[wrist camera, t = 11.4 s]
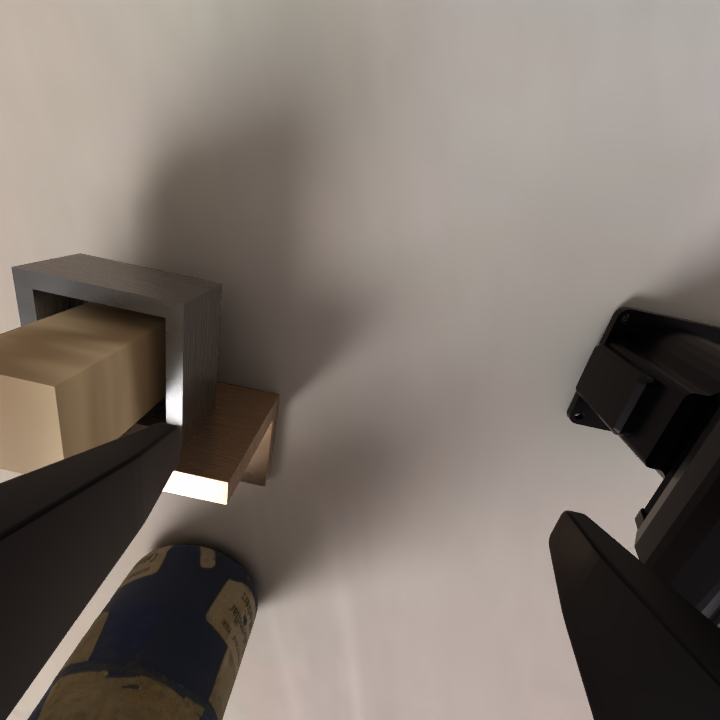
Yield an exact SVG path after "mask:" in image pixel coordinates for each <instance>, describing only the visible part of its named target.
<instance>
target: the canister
mask: <svg viewBox="0 0 720 720" xmlns="http://www.w3.org/2000/svg"><path fill="white" fill-rule="evenodd" d="M257 605H258V597H257V592H256V589H255V586H254V583H253V581H252V579H251V578H250V576H249V575H248V574H247V572H246V571H245V570H244V569H243V568H242V567H241V566H240V565H238V564H237V563H236V562H235V561H233V560H232V559H230V558H229V557H227V556H225V555H223V554H221V553H220V552H217V551H215V550H212V549H210V548H206V547H202V546H197V545H188V544H175V545H169V546H165V547H162V548H159V549H156V550H154V551H152V552H150V553H149V554H147V555H146V556H144V557H143V558H142V559H141V560H140V561H139V562H138V563H137V564H136V565H135V566H134V568H133V569H132V570H131V571H130V573H129V574H128V576H127V577H126V578H125V580H124V581H123V582H122V584H121V585H120V587H119V588H118V589H117V591H116V592H115V594H114V595H113V597H112V598H111V600H110V601H109V603H108V604H107V605H106V607H105V608H104V609H103V611H102V612H101V614H100V615H99V616H98V617H97V619H96V620H95V621H94V623H93V624H92V626H91V627H90V629H89V630H88V632H87V633H86V634H85V636H84V637H83V638H82V640H81V641H80V643H79V644H78V646H77V647H76V649H75V650H74V651H73V653H72V654H71V656H70V657H69V659H68V660H67V662H66V663H65V665H64V666H63V668H62V669H61V671H60V672H59V673H58V675H57V676H56V678H55V679H54V681H53V682H52V684H51V686H50V687H49V689H48V690H47V692H46V693H45V695H44V696H43V698H42V699H41V701H40V702H39V704H38V705H37V706H36V708H35V709H34V711H33V712H32V714H31V715H30V717H29V718H28V720H222V719H223V716H224V712H225V709H226V706H227V703H228V700H229V697H230V694H231V691H232V688H233V685H234V682H235V679H236V676H237V673H238V670H239V667H240V664H241V660H242V657H243V654H244V651H245V648H246V645H247V642H248V639H249V636H250V633H251V630H252V627H253V624H254V620H255V617H256V613H257Z"/></svg>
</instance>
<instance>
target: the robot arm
mask: <svg viewBox="0 0 720 720" xmlns="http://www.w3.org/2000/svg"><path fill="white" fill-rule="evenodd" d="M627 314H629V318H628V319H627V320H626V321H624V322H622V318H623V317H624V316H625V315H627ZM576 390H577V391H576V393H575V395H574V398H573V400H572V402H571V404H570V406H569V408H568V410H567V416H568V417H569V419H570V420H571V421H572V422H573V423H576V424H580V425H585V426H589V427H594V428H599V429H603V430H608V431H612V432H613V433H614V434H616V435H619V437H620V438H621V439H622V440H623V441H624V442H625V443H626V444H627V445H628V447H629V448H630V449H631V450H632V451H633V452H634V453H635V454H636V455H637V457H638V458H639V459H640V460H641V461H642V462H643V463H644V464H645V465H646V466H647V467H649V468H652V469H655V470H656V471H657V472H658V473H659V474H660V475H661V477H662V478H663V479H664V480H663V481H662V483H661V484H660V486H659V487H658V489H657V491H656V492H655V494H654V495H653V497H652V498H651V500H650V501H649V503H648V504H647V506H646V507H645V509H643V508H642V509H641V510H640V511H639V513H638V514H637V516H636V517H635V522H636V525H637V529H638V531H637V533H636V539H635V546H634V547H635V549H636V552H637V555H638V558H639V560H638V559H637V558H636V557H635V556H634V555H632V554H631V553H630V552H629V551H628V550H627V549H625V548H624V547H623V546H622V545H621V544H619V543H618V542H617V541H616V540H615V539H613V538H612V537H611V536H610V535H609V534H608V533H606V532H605V531H604V530H603V529H602V528H600V527H599V526H598V525H597V524H596V523H595V522H593V521H592V520H591V519H590V518H589V517H587V516H586V515H585V514H582V513H578V512H573V511H564V512H563V513H562V514H561V516H560V518H559V520H558V522H557V523H556V525H555V527H554V529H553V531H552V533H551V535H550V538H549V548H550V553H551V559H552V564H553V569H554V574H555V579H556V584H557V589H558V594H559V599H560V604H561V609H562V613H563V617H564V621H565V624H566V628H567V631H568V634H569V638H570V641H571V645H572V648H573V651H574V655H575V658H576V661H577V665H578V668H579V671H580V675H581V678H582V681H583V685H584V688H585V691H586V695H587V698H588V701H589V705H590V708H591V711H592V715H593V718H594V720H720V327H718V326H713V325H709V324H704V323H699V322H695V321H690V320H686V319H681V318H676V317H672V316H667V315H662V314H658V313H653V312H648V311H644V310H639V309H634V308H630V307H622V308H619V309H618V310H617V311H616V312H615V313H614V314H613V316H612V318H611V320H610V322H609V325H608V327H607V329H606V331H605V333H604V335H603V337H602V339H601V341H600V343H599V345H598V346H596V347H595V348H594V350H593V353H592V355H591V357H590V359H589V361H588V363H587V365H586V367H585V369H584V371H583V374H582V376H581V378H580V380H579V382H578V384H577V386H576ZM577 412H581V414H580V415H578V416H575V414H576V413H577ZM179 458H180V428H179V427H178V426H177V425H173V424H168V423H163V422H161V423H157V424H155V425H152V426H149V427H147V428H144V429H141V430H139V431H136V432H134V433H131V434H128V435H126V436H123V437H120V438H118V439H115V440H113V441H110V442H107V443H105V444H102V445H100V446H97V447H94V448H92V449H89V450H86V451H84V452H81V453H79V454H76V455H73V456H71V457H68V458H65V459H63V460H60V461H58V462H55V463H52V464H50V465H47V466H44V467H42V468H39V469H37V470H34V471H31V472H29V473H26V474H23V475H21V476H18V477H16V478H13V479H10V480H8V481H5V482H2V483H0V720H6V719H7V717H8V716H9V715H10V713H11V712H12V710H13V709H14V707H15V706H16V705H17V703H18V702H19V700H20V699H21V698H22V696H23V695H24V693H25V692H26V690H27V689H28V688H29V686H30V685H31V683H32V682H33V681H34V679H35V678H36V676H37V675H38V673H39V672H40V671H41V669H42V668H43V666H44V665H45V664H46V662H47V661H48V659H49V658H50V656H51V655H52V654H53V652H54V651H55V649H56V648H57V647H58V645H59V644H60V642H61V641H62V639H63V638H64V637H65V635H66V634H67V632H68V631H69V630H70V628H71V627H72V625H73V624H74V622H75V621H76V620H77V618H78V617H79V615H80V614H81V613H82V611H83V610H84V608H85V607H86V605H87V604H88V603H89V601H90V600H91V598H92V597H93V596H94V594H95V593H96V591H97V590H98V588H99V587H100V586H101V584H102V583H103V581H104V580H105V579H106V577H107V576H108V574H109V573H110V571H111V570H112V569H113V567H114V566H115V564H116V563H117V562H118V560H119V559H120V557H121V556H122V554H123V553H124V552H125V550H126V549H127V547H128V546H129V545H130V543H131V542H132V540H133V539H134V537H135V536H136V535H137V533H138V532H139V530H140V529H141V527H142V526H143V524H144V523H145V521H146V519H147V518H148V516H149V514H150V512H151V511H152V509H153V507H154V505H155V504H156V502H157V500H158V498H159V496H160V495H161V493H162V491H163V489H164V487H165V486H166V484H167V482H168V480H169V478H170V477H171V475H172V473H173V471H174V469H175V468H176V466H177V464H178V461H179Z"/></svg>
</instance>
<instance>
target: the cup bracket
mask: <svg viewBox="0 0 720 720" xmlns="http://www.w3.org/2000/svg"><path fill="white" fill-rule="evenodd" d="M12 273H13V279H14V285H15V291H16V297H17V303H18V309H19V315H20V322H21V327H22V326H24V325H27V324H30V323H33V322H35V321H38V320H41V319H44V318H47V317H49V316H52V315H55V314H58V313H60V312H63V311H66V310H69V309H71V308H74V307H77V306H80V305H83V304H85V303H88V302H94V303H99V304H104V305H108V306H113V307H118V308H122V309H127V310H131V311H136V312H141V313H145V314H150V315H154V316H159V317H164V318H166V396H165V397H164V398H163V399H162V400H161V401H160V402H159V403H157V404H156V405H155V406H154V407H153V408H152V409H151V410H150V411H148V412H147V413H146V414H145V415H144V416H143V417H142V418H141V419H139V420H138V421H137V422H136V423H135V424H134V425H133V426H132V427H130V428H129V429H128V430H127V431H126V432H125V433H124V434H122V435H121V436H120V437H123V436H126V435H128V434H131V433H134V432H136V431H139V430H141V429H144V428H147V427H149V426H152V425H155V424H157V423H161V422H163V423H168V424H173V425H177V426H178V427H179V428H180V458H179V461H178V464H177V466H176V468H175V469H174V471H173V473H172V475H171V477H170V478H169V480H168V482H167V484H166V486H165V487H164V489H163V491H165V492H170V493H175V494H179V495H184V496H188V497H193V498H198V499H202V500H207V501H211V502H216V503H220V504H225V505H227V503H228V501H229V499H230V498H231V496H232V494H233V492H234V490H235V488H236V487H237V485H238V483H239V481H242V482H247V483H252V484H256V485H261V486H265V485H266V482H267V480H268V478H269V471H270V463H271V455H272V447H273V439H274V432H275V424H276V416H277V408H278V400H279V395H277V394H272V393H267V392H263V391H258V390H253V389H249V388H244V387H240V386H235V385H230V384H226V383H221V382H217V368H218V349H219V330H220V311H221V292H222V284H220V283H215V282H211V281H206V280H201V279H197V278H192V277H187V276H183V275H178V274H173V273H169V272H164V271H160V270H155V269H150V268H146V267H141V266H136V265H132V264H127V263H123V262H118V261H113V260H109V259H104V258H99V257H95V256H90V255H86V254H81V253H80V254H75V255H70V256H65V257H60V258H55V259H50V260H45V261H39V262H34V263H29V264H24V265H19V266H14V267H12ZM120 437H119V438H120Z"/></svg>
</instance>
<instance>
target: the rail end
mask: <svg viewBox="0 0 720 720" xmlns="http://www.w3.org/2000/svg"><path fill="white" fill-rule="evenodd" d="M165 396H166V318H164V317H159V316H154V315H150V314H145V313H141V312H136V311H131V310H127V309H122V308H118V307H113V306H108V305H104V304H99V303H94V302H88V303H85V304H83V305H80V306H77V307H74V308H71V309H69V310H66V311H63V312H60V313H58V314H55V315H52V316H49V317H47V318H44V319H41V320H38V321H35V322H33V323H30V324H27V325H24V326H22V327H19V328H16V329H13V330H11V331H8V332H5V333H2V334H0V469H4V470H9V471H13V472H18V473H22V474H26V473H29V472H31V471H34V470H37V469H39V468H42V467H44V466H47V465H50V464H52V463H55V462H58V461H60V460H63V459H65V458H68V457H71V456H73V455H76V454H79V453H81V452H84V451H86V450H89V449H92V448H94V447H97V446H100V445H102V444H105V443H107V442H110V441H113V440H115V439H118V438H119V437H120V436H121V435H122V434H124V433H125V432H126V431H127V430H128V429H129V428H130V427H132V426H133V425H134V424H135V423H136V422H137V421H138V420H139V419H141V418H142V417H143V416H144V415H145V414H146V413H147V412H148V411H150V410H151V409H152V408H153V407H154V406H155V405H156V404H157V403H159V402H160V401H161V400H162V399H163V398H164V397H165Z"/></svg>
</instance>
